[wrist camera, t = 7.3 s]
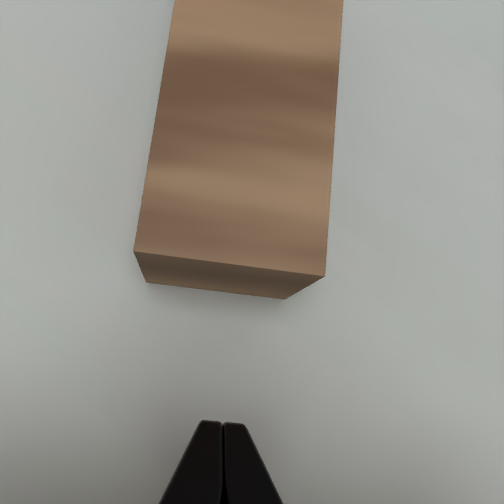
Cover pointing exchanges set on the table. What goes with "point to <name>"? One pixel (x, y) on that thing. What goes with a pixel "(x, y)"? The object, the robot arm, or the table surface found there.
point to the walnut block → (243, 147)
